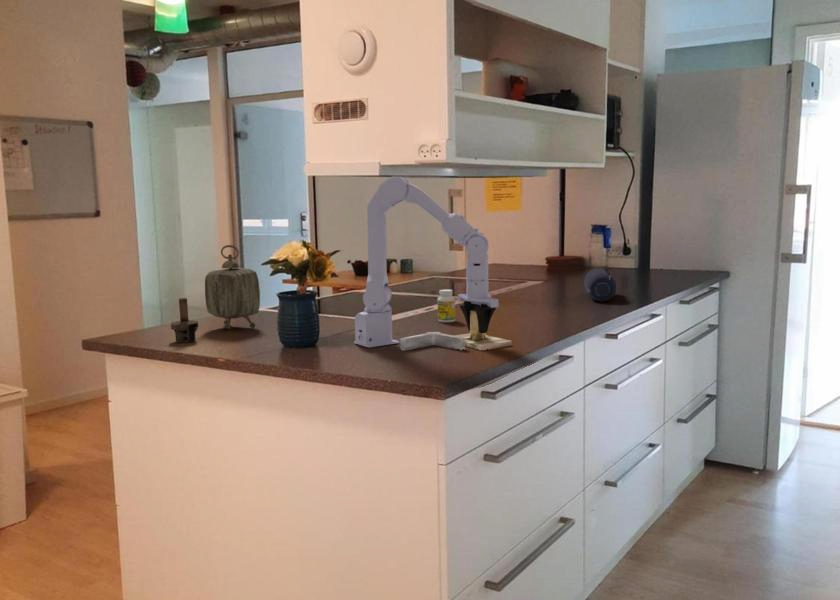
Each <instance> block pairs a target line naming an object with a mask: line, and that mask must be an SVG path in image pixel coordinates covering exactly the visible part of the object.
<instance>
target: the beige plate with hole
mask: <svg viewBox="0 0 840 600" xmlns="http://www.w3.org/2000/svg"><path fill="white" fill-rule="evenodd" d="M455 336H459V337H465V346H466V347H465V348H469V347H470V349H473V348H474V349H473V350H477V349H478V350H477V351H481V350H482V351H487V349H488V350H492V349H499V348H505V347H511V346H512V344H513V341H512V340H510V339H505V338H501V337H497V336H491V335H487V334H485V339H486V340H485V341H479V342H474V341H470V332H469V333H464V334H463V333H462V334H456V335H455Z"/></svg>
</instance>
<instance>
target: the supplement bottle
mask: <svg viewBox="0 0 840 600" xmlns="http://www.w3.org/2000/svg"><path fill="white" fill-rule="evenodd" d="M438 292H439V293H438V294H439V295H440V296H438V297H437V321H438V323H454V322H456V298H455V297H454V296H453V294H454V293H453V289H439V291H438Z"/></svg>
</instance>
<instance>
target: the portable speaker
mask: <svg viewBox="0 0 840 600" xmlns="http://www.w3.org/2000/svg"><path fill="white" fill-rule="evenodd" d="M583 283H584V287H585V289H586V291H587V293H588V295H589V297H590V298H591V299H593V300H594V301H597V302H600V303H603V302H606V301H610V300H611V299H612V298H614V296H615V294H616V293H617V283H616V280H615V279H614V278H613V276H611V274H610V273H609V271H607V270H606V269H604V268H599V267H598V268H593V269H590V270H589V271H588V272H587V273H586V274H585V277H584V280H583Z"/></svg>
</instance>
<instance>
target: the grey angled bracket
mask: <svg viewBox="0 0 840 600" xmlns="http://www.w3.org/2000/svg"><path fill="white" fill-rule="evenodd" d="M399 343H400V350H401V351H403V352H405V351H410V350H414V349H415V350H416V349H420V348H424V347H430V346H438V347H443V348H448V349H452V348H453V349H454V350H457V349H459V351H463V349H464V350H466V347H465V337H459V336H456V335H453V334H447V333H441V331H426V332H425V333H422V334H416V335H411V336H406V337H400V341H399Z"/></svg>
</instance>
